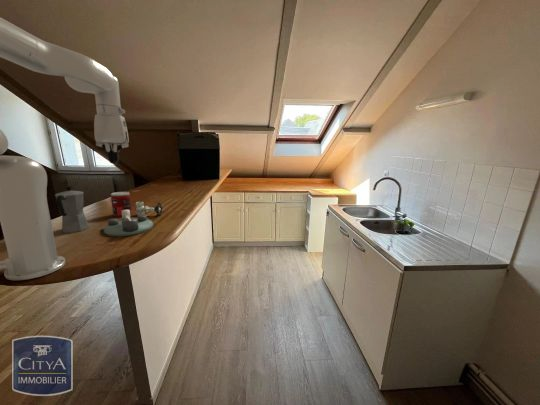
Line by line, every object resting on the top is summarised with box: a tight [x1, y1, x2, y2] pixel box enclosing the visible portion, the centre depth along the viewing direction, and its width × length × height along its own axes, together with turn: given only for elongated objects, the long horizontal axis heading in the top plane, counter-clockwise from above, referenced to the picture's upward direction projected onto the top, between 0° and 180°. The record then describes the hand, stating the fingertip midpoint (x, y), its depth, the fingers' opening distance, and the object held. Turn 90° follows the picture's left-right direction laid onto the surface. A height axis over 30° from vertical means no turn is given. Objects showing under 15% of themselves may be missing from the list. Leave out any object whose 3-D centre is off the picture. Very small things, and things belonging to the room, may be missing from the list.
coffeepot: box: [54, 185, 90, 234], centre depth 98 cm, size 15×9×18 cm, turn 14°
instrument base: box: [103, 214, 154, 237], centre depth 103 cm, size 18×18×4 cm
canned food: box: [110, 191, 132, 218], centre depth 121 cm, size 8×8×11 cm
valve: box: [134, 201, 164, 217], centre depth 122 cm, size 7×7×12 cm
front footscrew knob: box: [120, 210, 139, 232], centre depth 100 cm, size 13×6×6 cm, turn 38°
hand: (114, 162), depth 93 cm, fingers closed
